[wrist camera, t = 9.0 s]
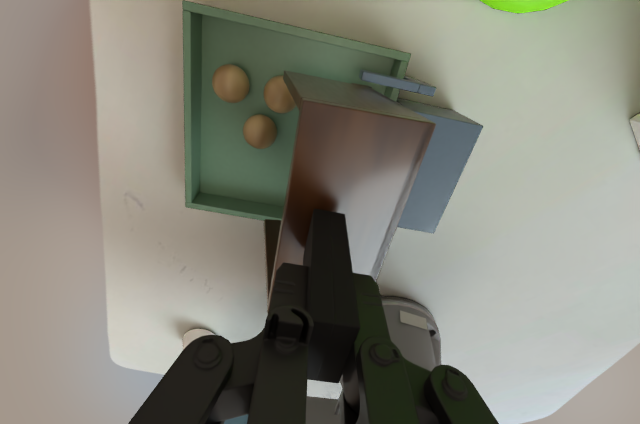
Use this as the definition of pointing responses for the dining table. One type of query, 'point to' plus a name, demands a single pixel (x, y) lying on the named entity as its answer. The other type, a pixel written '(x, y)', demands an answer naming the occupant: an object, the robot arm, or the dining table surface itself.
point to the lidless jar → (194, 335)
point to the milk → (636, 127)
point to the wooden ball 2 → (259, 131)
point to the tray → (256, 103)
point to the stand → (432, 154)
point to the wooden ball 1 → (230, 83)
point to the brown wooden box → (346, 170)
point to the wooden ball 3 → (278, 95)
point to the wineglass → (522, 5)
